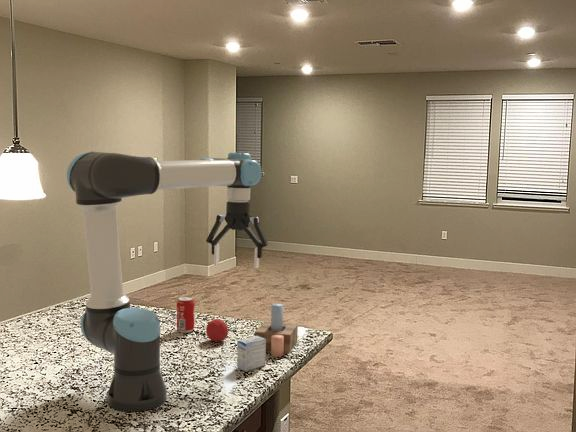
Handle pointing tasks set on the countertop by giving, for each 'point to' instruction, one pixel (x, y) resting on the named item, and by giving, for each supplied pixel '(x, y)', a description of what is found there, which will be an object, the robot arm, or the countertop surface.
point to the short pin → (277, 345)
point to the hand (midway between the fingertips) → (236, 266)
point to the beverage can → (185, 314)
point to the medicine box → (251, 353)
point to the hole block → (288, 333)
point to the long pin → (277, 317)
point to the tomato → (217, 330)
